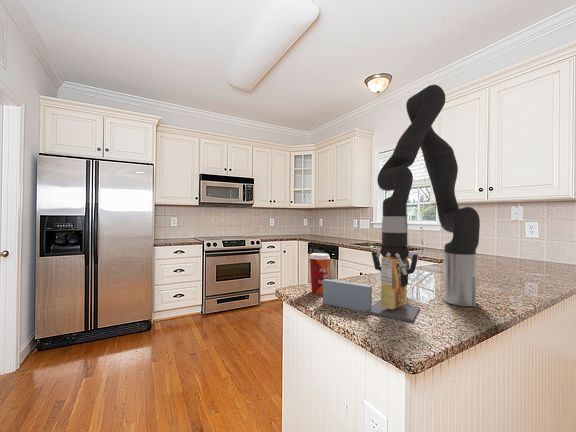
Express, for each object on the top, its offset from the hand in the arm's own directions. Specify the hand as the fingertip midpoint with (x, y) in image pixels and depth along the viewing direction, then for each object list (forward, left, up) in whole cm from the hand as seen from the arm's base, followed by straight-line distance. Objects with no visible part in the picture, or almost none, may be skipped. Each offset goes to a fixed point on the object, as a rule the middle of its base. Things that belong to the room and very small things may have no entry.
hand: (394, 284), depth 85 cm
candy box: (0, 0, -7) cm, 7 cm away
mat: (0, 0, -8) cm, 8 cm away
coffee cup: (+29, -6, -9) cm, 31 cm away
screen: (+14, +5, -8) cm, 17 cm away
